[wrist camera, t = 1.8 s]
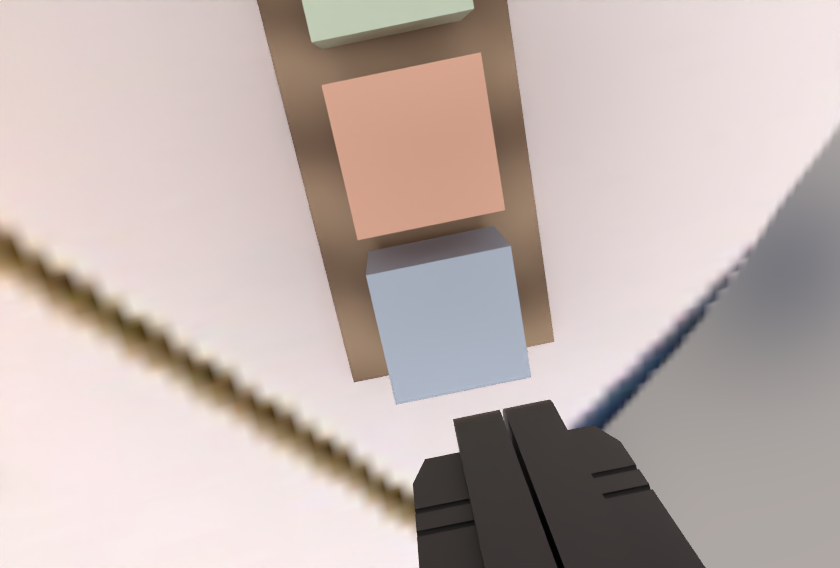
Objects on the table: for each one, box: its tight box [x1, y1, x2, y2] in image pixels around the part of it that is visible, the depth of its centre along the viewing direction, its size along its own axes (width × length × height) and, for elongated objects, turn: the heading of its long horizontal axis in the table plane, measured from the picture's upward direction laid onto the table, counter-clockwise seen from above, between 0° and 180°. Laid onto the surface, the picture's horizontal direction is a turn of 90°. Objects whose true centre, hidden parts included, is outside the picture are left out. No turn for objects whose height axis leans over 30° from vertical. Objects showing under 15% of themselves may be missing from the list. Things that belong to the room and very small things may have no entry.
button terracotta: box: [322, 52, 505, 240], centre depth 26 cm, size 6×6×4 cm
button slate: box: [366, 226, 531, 405], centre depth 28 cm, size 6×6×4 cm
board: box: [257, 0, 554, 382], centre depth 29 cm, size 24×11×3 cm, turn 11°
